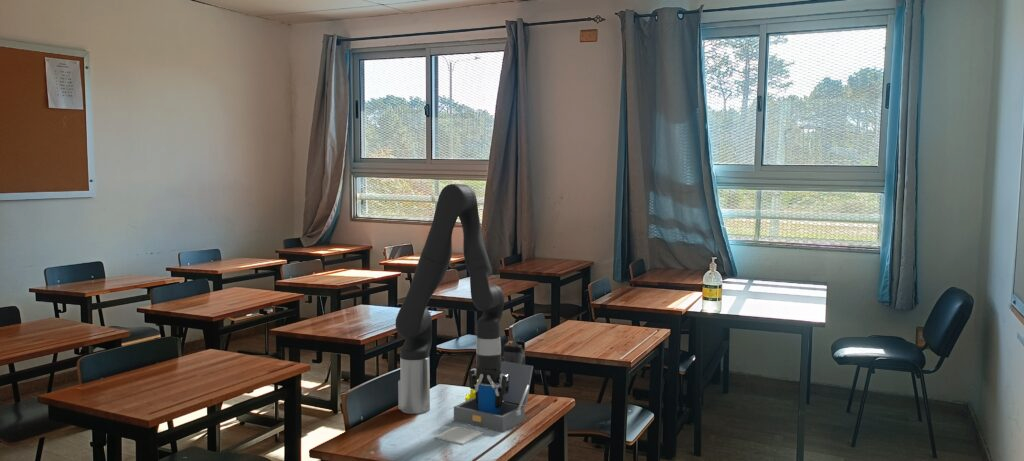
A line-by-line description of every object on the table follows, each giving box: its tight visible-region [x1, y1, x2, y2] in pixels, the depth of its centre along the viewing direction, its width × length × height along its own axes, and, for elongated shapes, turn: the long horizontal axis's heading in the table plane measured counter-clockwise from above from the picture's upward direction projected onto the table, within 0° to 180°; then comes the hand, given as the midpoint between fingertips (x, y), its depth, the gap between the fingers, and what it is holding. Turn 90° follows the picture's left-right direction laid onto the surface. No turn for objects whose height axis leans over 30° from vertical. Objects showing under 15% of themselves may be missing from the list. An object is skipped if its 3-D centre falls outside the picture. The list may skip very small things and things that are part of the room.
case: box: [453, 360, 534, 433], centre depth 220 cm, size 19×17×16 cm
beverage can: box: [478, 383, 500, 415], centre depth 219 cm, size 6×6×12 cm
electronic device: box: [503, 339, 526, 405], centre depth 236 cm, size 9×6×20 cm, turn 168°
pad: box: [434, 425, 485, 446], centre depth 207 cm, size 10×10×1 cm
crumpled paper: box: [464, 379, 478, 402], centre depth 238 cm, size 6×8×8 cm
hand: (489, 405), depth 219 cm, fingers closed on beverage can, 6 cm apart
